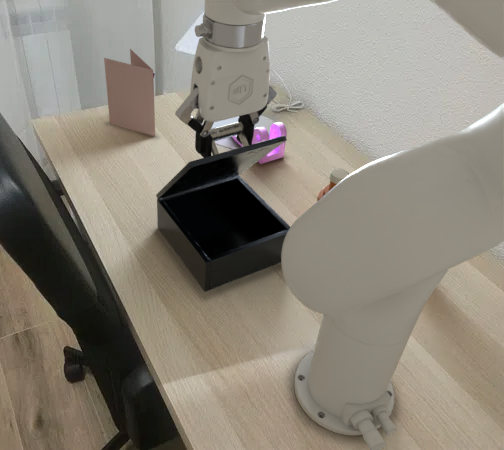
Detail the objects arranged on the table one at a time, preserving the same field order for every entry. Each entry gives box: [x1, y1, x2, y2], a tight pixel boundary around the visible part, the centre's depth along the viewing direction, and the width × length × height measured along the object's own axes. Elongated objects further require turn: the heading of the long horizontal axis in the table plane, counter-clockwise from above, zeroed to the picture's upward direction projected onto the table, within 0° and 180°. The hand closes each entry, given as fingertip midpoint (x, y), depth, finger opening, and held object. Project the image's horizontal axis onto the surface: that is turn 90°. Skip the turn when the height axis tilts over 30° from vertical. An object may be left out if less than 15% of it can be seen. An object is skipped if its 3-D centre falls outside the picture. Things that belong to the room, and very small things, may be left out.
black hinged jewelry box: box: [156, 175, 291, 293], centre depth 89 cm, size 17×16×7 cm
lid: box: [155, 121, 288, 200], centre depth 84 cm, size 17×16×5 cm
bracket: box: [231, 121, 288, 165], centre depth 114 cm, size 13×6×7 cm, turn 29°
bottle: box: [316, 167, 350, 202], centre depth 89 cm, size 5×5×14 cm
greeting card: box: [103, 48, 156, 137], centre depth 115 cm, size 11×7×15 cm, turn 29°
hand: (224, 148), depth 80 cm, fingers closed on lid, 6 cm apart
